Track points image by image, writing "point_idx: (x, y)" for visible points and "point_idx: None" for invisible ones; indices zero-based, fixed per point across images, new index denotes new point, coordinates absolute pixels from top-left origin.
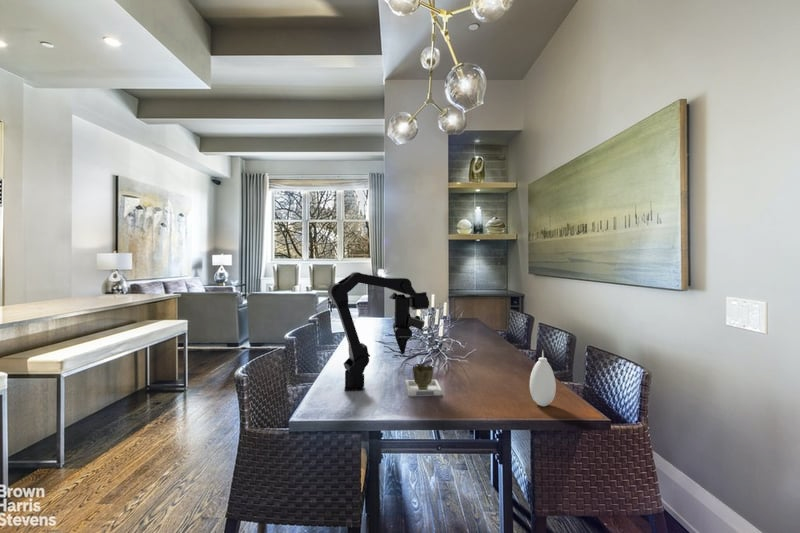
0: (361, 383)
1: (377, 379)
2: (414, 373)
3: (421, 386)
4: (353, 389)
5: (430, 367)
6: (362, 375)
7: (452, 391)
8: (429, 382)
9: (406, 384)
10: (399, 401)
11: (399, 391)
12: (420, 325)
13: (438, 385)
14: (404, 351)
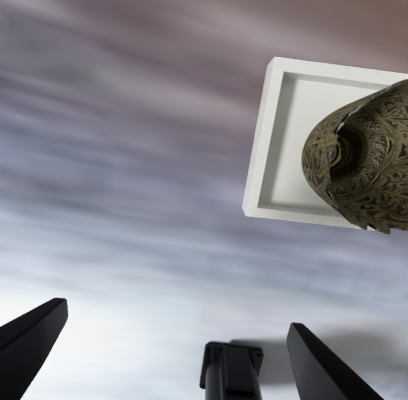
0: (252, 367)
1: (150, 294)
2: (384, 216)
3: (348, 164)
4: (258, 372)
5: (381, 93)
6: (251, 394)
7: (379, 6)
8: (387, 127)
9: (285, 218)
10: (398, 258)
11: (302, 242)
12: None
13: (368, 74)
14: (320, 343)
